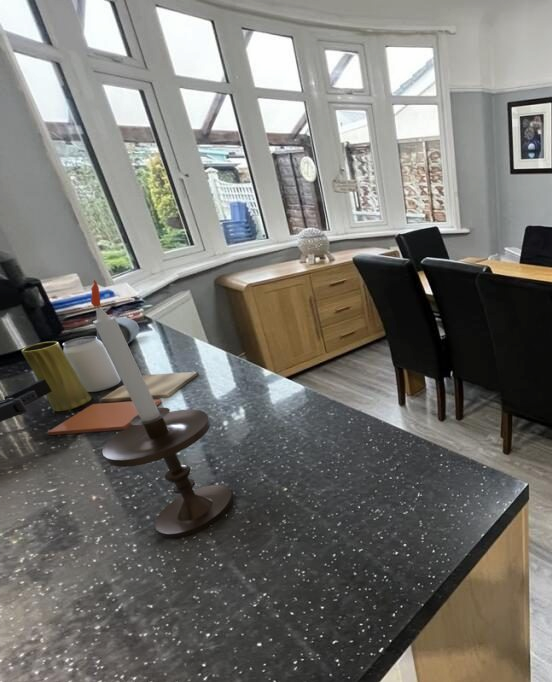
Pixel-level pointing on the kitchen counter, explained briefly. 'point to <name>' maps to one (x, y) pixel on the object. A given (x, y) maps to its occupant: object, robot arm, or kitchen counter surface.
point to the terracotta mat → (99, 418)
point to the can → (91, 363)
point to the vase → (56, 375)
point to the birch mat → (155, 386)
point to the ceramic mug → (126, 329)
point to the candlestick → (159, 440)
